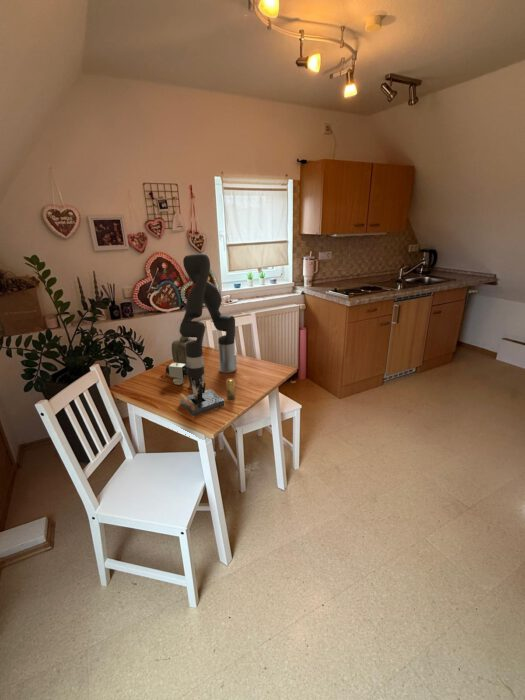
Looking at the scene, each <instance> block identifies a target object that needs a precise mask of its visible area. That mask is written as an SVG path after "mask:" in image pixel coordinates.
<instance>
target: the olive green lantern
mask: <svg viewBox="0 0 525 700" xmlns="http://www.w3.org/2000/svg"><path fill="white" fill-rule="evenodd" d="M195 340H196V339H192V338H191V337H183V336H182V335H181V336H180V339H176V340H173V341H172V343H171V355H172V359H173V363H182V364H187V361H186V359H187V354H186V344H187V343H188V342H191V341H195Z"/></svg>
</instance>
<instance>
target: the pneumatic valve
mask: <svg viewBox="0 0 525 700" xmlns="http://www.w3.org/2000/svg"><path fill="white" fill-rule="evenodd" d="M165 373H166V374H167V375H168V378H173V380H172V381H173V383H174V385H176V386H177V385H178V386H181V385H182V384H184V383H185V378H186V377H188V372H187V364H182V363H176V362H171V363H170V364H168V365H167V366H166V367H165Z"/></svg>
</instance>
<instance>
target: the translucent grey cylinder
mask: <svg viewBox="0 0 525 700" xmlns="http://www.w3.org/2000/svg"><path fill="white" fill-rule="evenodd" d="M192 386H193V389H192V394H193V398H194V404H198V403H201V402H203V401H202V400H200V401H198V398H197V390H196V389H195V385H192ZM197 387H199V386H197ZM198 390H199V389H198Z"/></svg>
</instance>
